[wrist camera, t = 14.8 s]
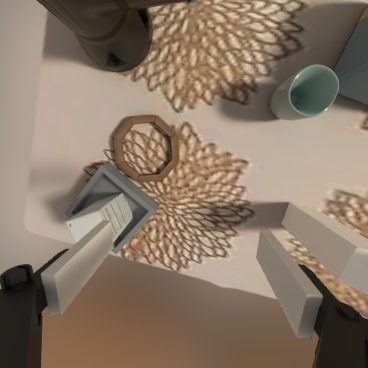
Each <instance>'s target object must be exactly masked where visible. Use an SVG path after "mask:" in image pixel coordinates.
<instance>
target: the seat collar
mask: <svg viewBox="0 0 368 368" xmlns="http://www.w3.org/2000/svg"><path fill="white" fill-rule="evenodd" d="M141 123H156V124H157V125H158V126H159V127H160V128H161V129H162V130H163V131H165V132H166V133H167V134H168V135H169V136H170V137H171V146H172V161H171V162H170V163H169V164H168V165H167V166H166V167H165V169H164V170H163V171H162V172H161V173H160V174H143V175H140V174H139V173H138V172H137V171H136V170H134V169H133V168H132V167H131V166H130V165H129V164H128V163H126V162H125V159H124V152H123V144H122V140H123V138H124V137H125V136H126V134H127V133H128V132H129V130H130V129H131V128H132V127H133V125H134V124H141ZM176 134H177V133H176V132H175V131H174V130H173V129H172V128H171V127H170V126H169V125H167V124H166V123H165V122H164V121H163V120H162V119H161V118H160V117H159V116H156V115H142V116H130V118H127V119H126V121H125V122H124V123H123V125H122V126H121V127H120V129H119V130H118V131H117V133H116V134H115V136H114V138H115V139H113V144H114V150H115V157H116V164H117V163H119V165H118V166H119V167H120V168H121V169H122V170H123V171H124V172H126V173H127V174H128V175H129V176H130V177H132V178H133V179H134V180H135V181H137V180H138V182H149V181H161V180H163V179H164V178H165V177H166V176H167V175H168V174H169V173H170V171H171V170H172V169H173V168H174V167H175V166H176V165H177V164H178V160H180V158H179V142H178V135H176ZM175 135H176V136H175Z"/></svg>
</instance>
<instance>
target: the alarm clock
mask: <svg viewBox="0 0 368 368" xmlns="http://www.w3.org/2000/svg"><path fill="white" fill-rule="evenodd" d="M333 72H334V73H335V74H336V76H337V78H338V81H339V90H338V94H340V95H343V96H345V97H348V98H351V99H353V100H356V101H358V102H361V103H364V104H366V105H368V6H367V7H366V9H365V10H364V12H363V14H362V16H361V18H360V20H359V22H358V24H357V26H356V28H355V30H354V32H353V34H352V36H351V38H350V40H349V42H348V44H347V45H346V47H345V49H344V51H343V53H342V55H341V57H340V59H339V61H338V63H337V65H336V67H335V69H334V71H333Z"/></svg>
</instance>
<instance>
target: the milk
mask: <svg viewBox="0 0 368 368" xmlns="http://www.w3.org/2000/svg"><path fill="white" fill-rule="evenodd" d="M281 224H282V225H283V226H284V227H285V228H286V229H287V230H288V231H289V232H290V233H291V234H292V235H293V236H294V237H295V238H296V239H297V240H298V241H299V242H300V243H301V244H302V245H303V246H304V247H305V248H306V249H307V250H308V251H309V252H310V253H311V254H312V255H313V256H314V257H315V258H316V259H317V260H318V261H319V262H320V263H321V264H322V265H323V266H324V267H325V268H326V269H327V270H328V271H329V272H330V273H331V274H332V275H333V276H334V277H335V278H336V279H337V280H338V281H340V282H342V283H344V284H346V285H348V286H350V287H353V288H355V289H357V290H359V291H361V292H363V293H365V294H367V295H368V239H366V238H364V237H363V236H361V235H359V234H358V233H356V232H354V231H352V230H351V229H349V228H347V227H346V226H344V225H342V224H340V223H339V222H337V221H335V220H334V219H332V218H330V217H328V216H327V215H325V214H323V213H322V212H320V211H318V210H316V209H315V208H313V207H308V206H304V205H300V204H296V203H291V202H289V205H288V207H287V210H286V212H285V215H284V217H283V220H282V222H281Z"/></svg>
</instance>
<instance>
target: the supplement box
mask: <svg viewBox="0 0 368 368" xmlns="http://www.w3.org/2000/svg"><path fill="white" fill-rule="evenodd" d="M133 217H134V216H133V214H132V212H131V209H130V207H129V205H128V202H127V200H126V198H125V196H124V193H123V192H122V193H118V194H115V195H112V196H109V197H106V198H103V199H100V200H98V201H97V202H95V203H93V204H92V205H90V206H89V207H87V208H86V209H84V210H82V211H81V212H79V213H78V214H76V215H74V216H73V217H71V218H70V219H68V220H67V221H65V223H66V225H67V227H68V229H69V231H70V233H71V235H72V236H73V238H74V240H75V242H76V243H77V242H78V241H79V240H80V239H82V238H83V237H84V236H85V235H86V234H87V233H89V232H90V231H91V230H92V229H93V228H94V227H96V226H97V225H98V224H99V223H100V222H101V221H102V220H110V221H111V224H112V237H113V242H114V241H115V240H116V239H117V237H118V236H119V235H120V234H121V232H122V231H123V230H124V229H125V227H126V226H127V225H128V224H129V222H130V221H131V220H132V219H133Z"/></svg>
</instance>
